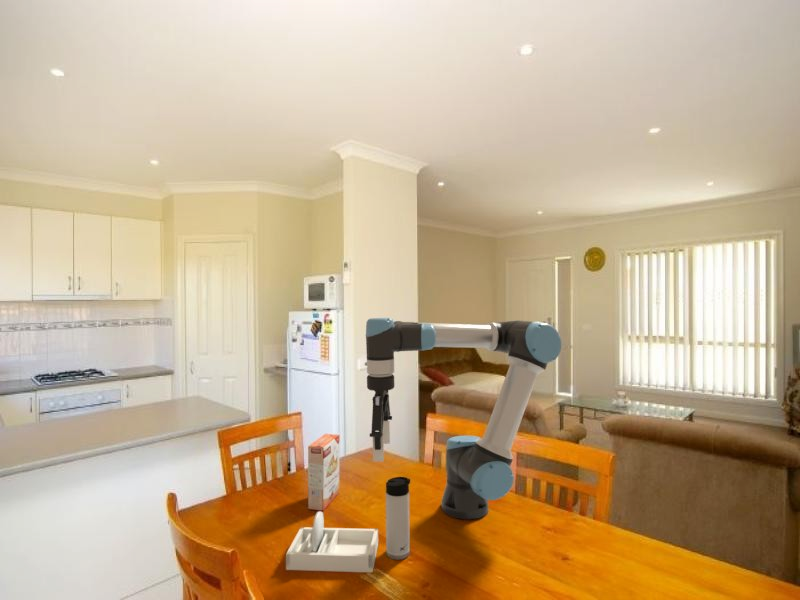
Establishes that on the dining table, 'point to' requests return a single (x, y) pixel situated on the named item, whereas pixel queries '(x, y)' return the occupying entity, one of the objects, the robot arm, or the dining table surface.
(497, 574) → the dining table surface
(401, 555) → the travel mug
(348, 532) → the rack
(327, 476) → the cracker box
